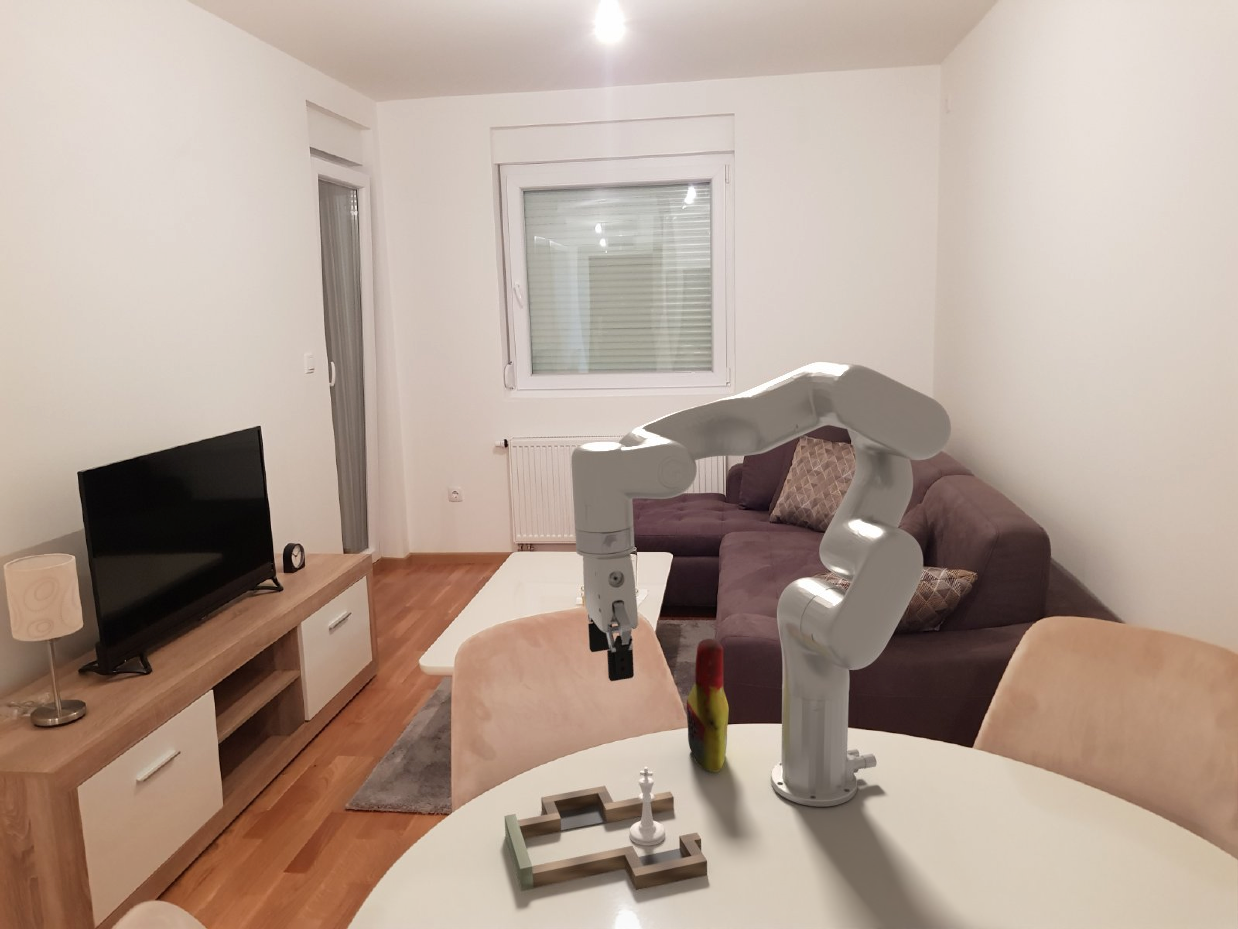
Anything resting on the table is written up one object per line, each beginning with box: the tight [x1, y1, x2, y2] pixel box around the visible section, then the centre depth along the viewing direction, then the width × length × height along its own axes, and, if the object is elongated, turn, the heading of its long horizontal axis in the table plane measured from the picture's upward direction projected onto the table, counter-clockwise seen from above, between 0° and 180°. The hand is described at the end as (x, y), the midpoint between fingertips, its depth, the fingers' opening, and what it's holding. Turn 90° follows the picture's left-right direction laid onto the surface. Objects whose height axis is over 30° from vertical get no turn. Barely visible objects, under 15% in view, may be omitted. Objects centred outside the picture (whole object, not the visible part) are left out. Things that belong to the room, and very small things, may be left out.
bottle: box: [686, 638, 729, 772], centre depth 138 cm, size 12×6×20 cm, turn 1°
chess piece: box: [628, 766, 666, 847], centre depth 120 cm, size 5×5×10 cm
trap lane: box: [504, 785, 708, 891], centre depth 119 cm, size 24×21×3 cm
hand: (610, 663), depth 117 cm, fingers open, 9 cm apart
